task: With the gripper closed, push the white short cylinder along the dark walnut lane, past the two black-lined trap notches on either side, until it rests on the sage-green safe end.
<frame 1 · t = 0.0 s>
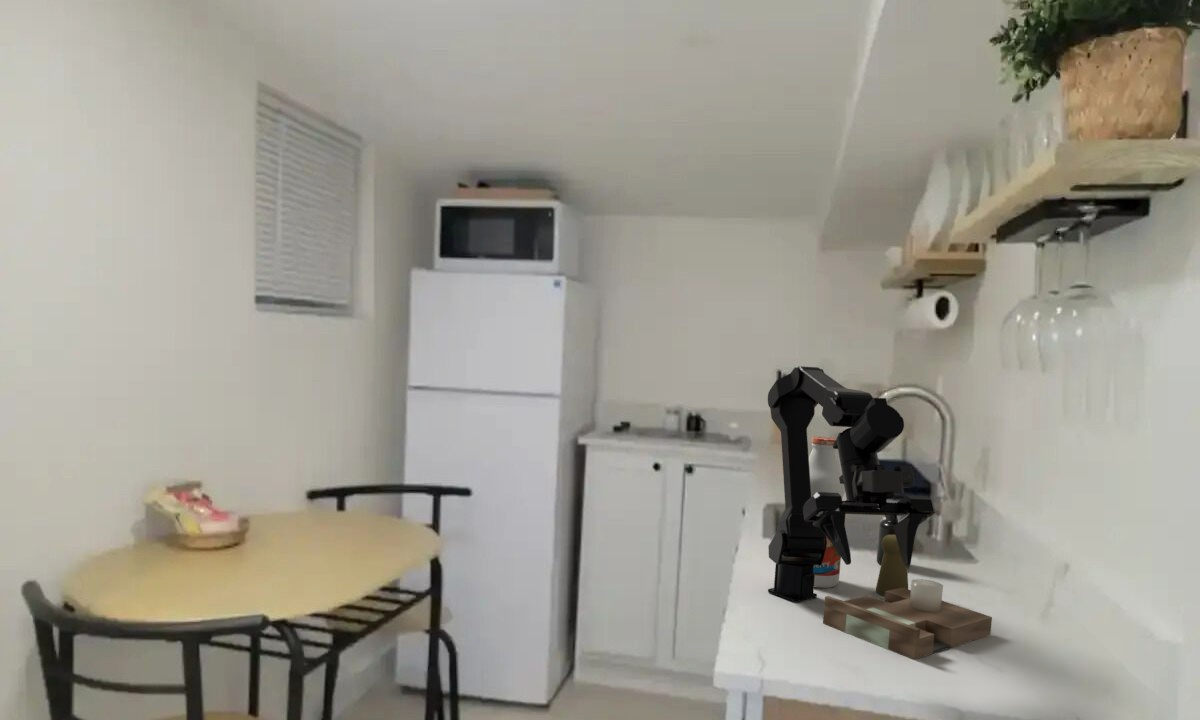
hand: (878, 564, 126), 15 cm above the worktop, tool tilted 35°, fingers open, 9 cm apart
white short cylinder: (925, 606, 146), point 3 cm above the worktop, touching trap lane
cork: (891, 594, 163), on the worktop
fruit juice: (813, 582, 167), on the worktop
supplement bottle: (892, 565, 183), on the worktop
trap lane: (906, 629, 143), on the worktop
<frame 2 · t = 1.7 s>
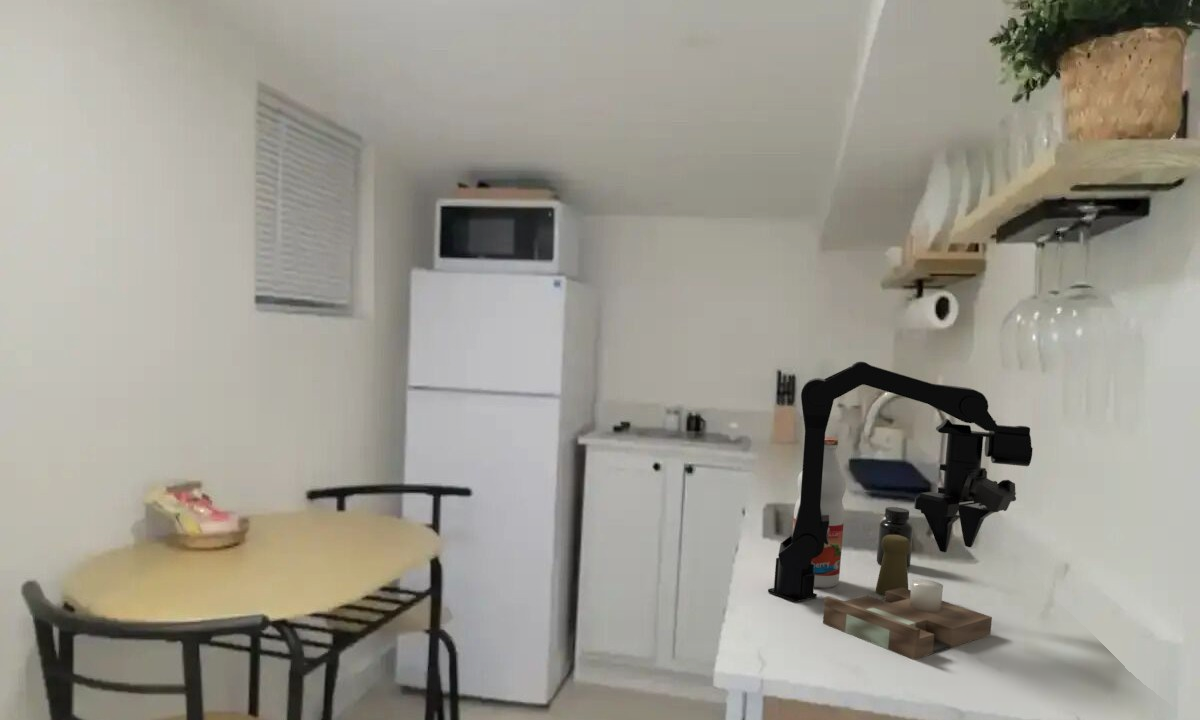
hand: (955, 549, 150), 12 cm above the worktop, tool pointing down, fingers open, 8 cm apart
nothing on the worktop moved.
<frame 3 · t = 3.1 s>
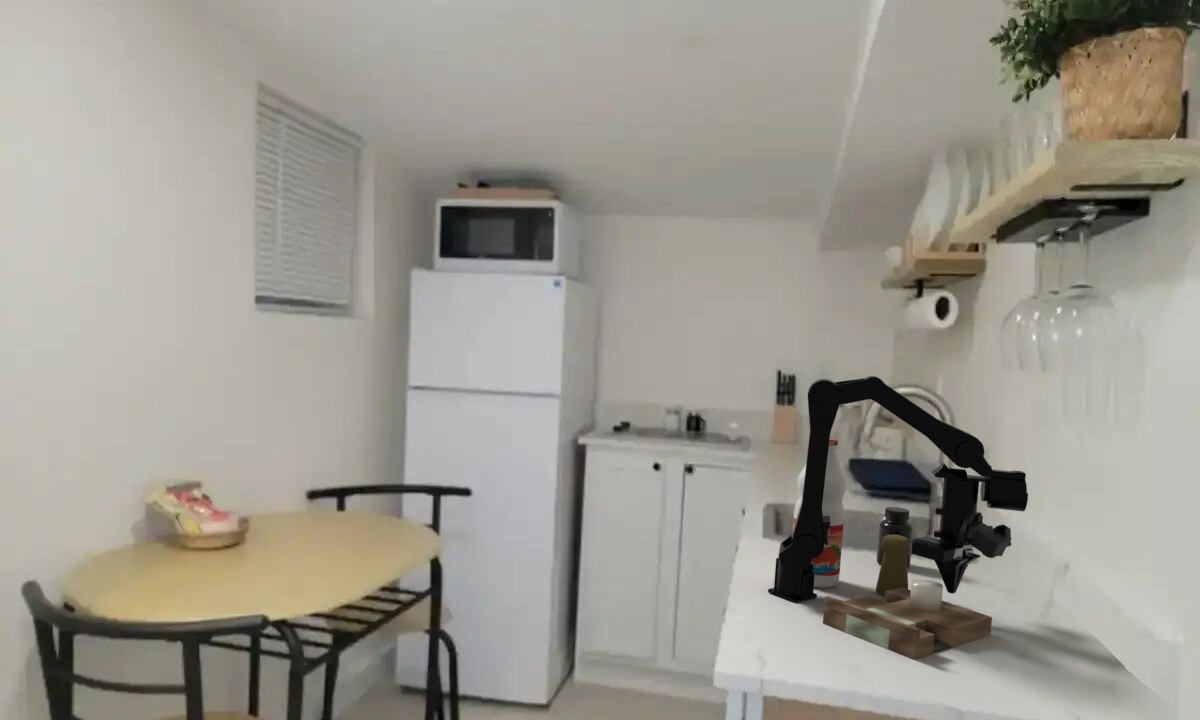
hand: (951, 592, 151), 4 cm above the worktop, tool pointing down, fingers closed
nothing on the worktop moved.
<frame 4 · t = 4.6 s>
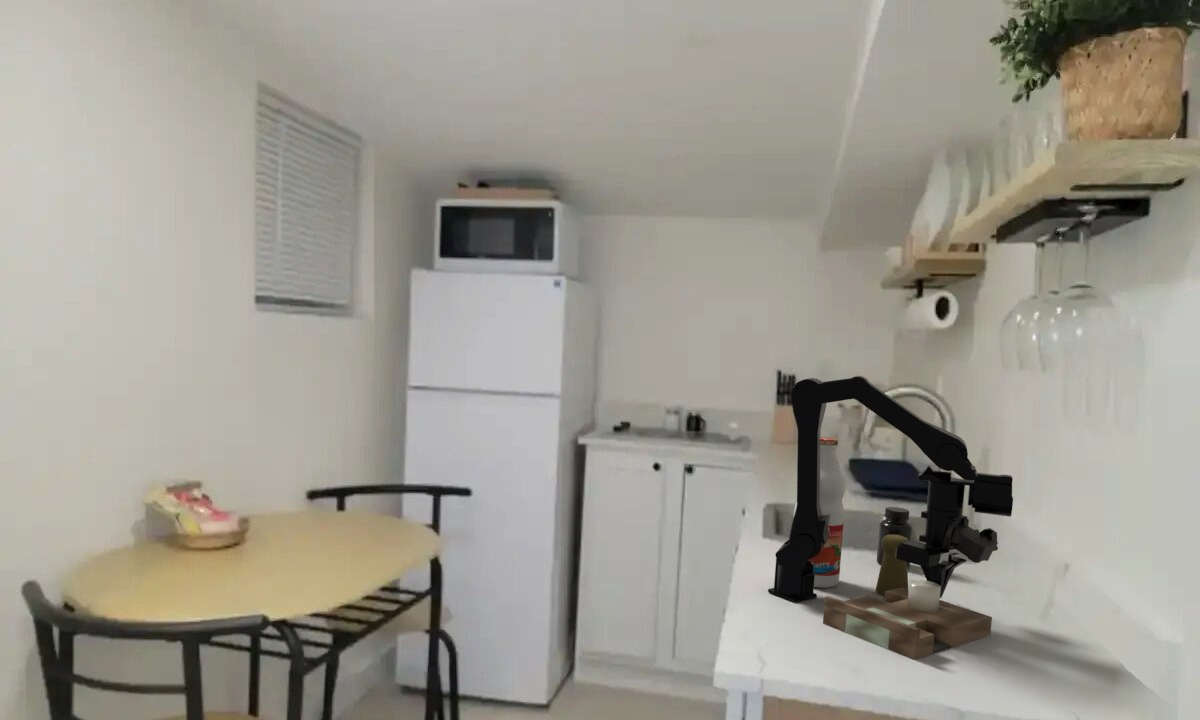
hand: (937, 597, 148), 4 cm above the worktop, tool pointing down, fingers closed
white short cylinder: (922, 607, 145), point 3 cm above the worktop, touching gripper
everything else where it was.
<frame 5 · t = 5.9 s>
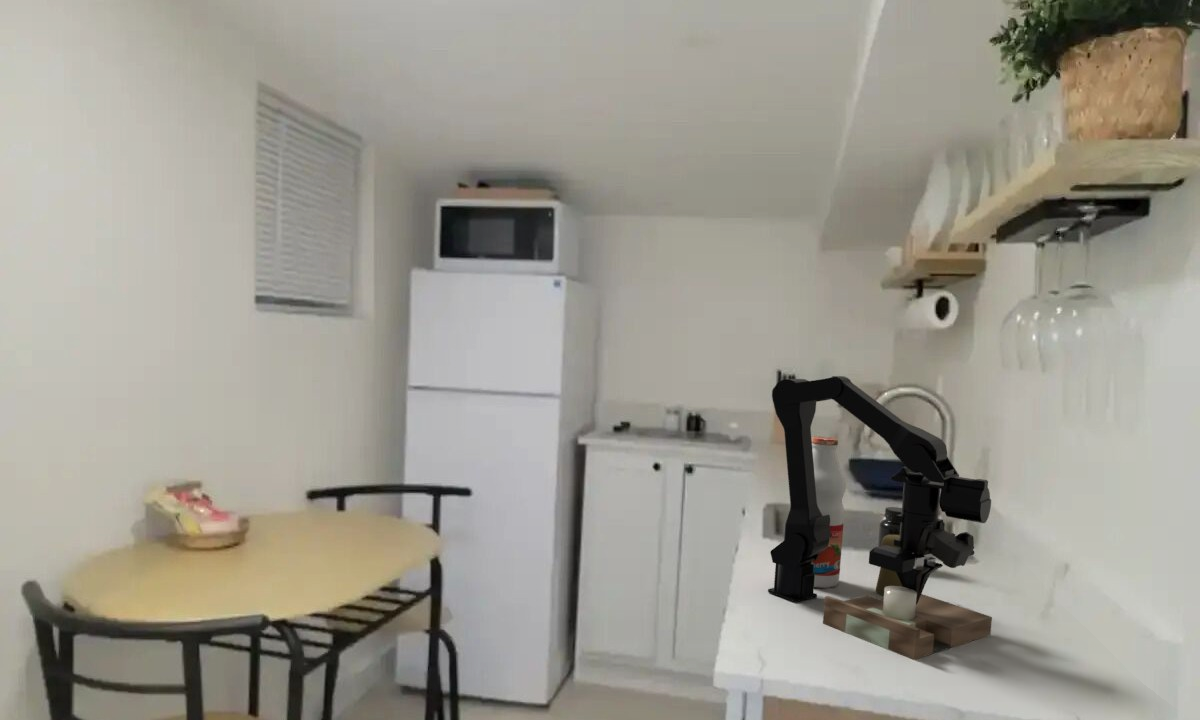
hand: (912, 604, 144), 4 cm above the worktop, tool pointing down, fingers closed
white short cylinder: (898, 614, 141), point 3 cm above the worktop, touching gripper
everything else where it was.
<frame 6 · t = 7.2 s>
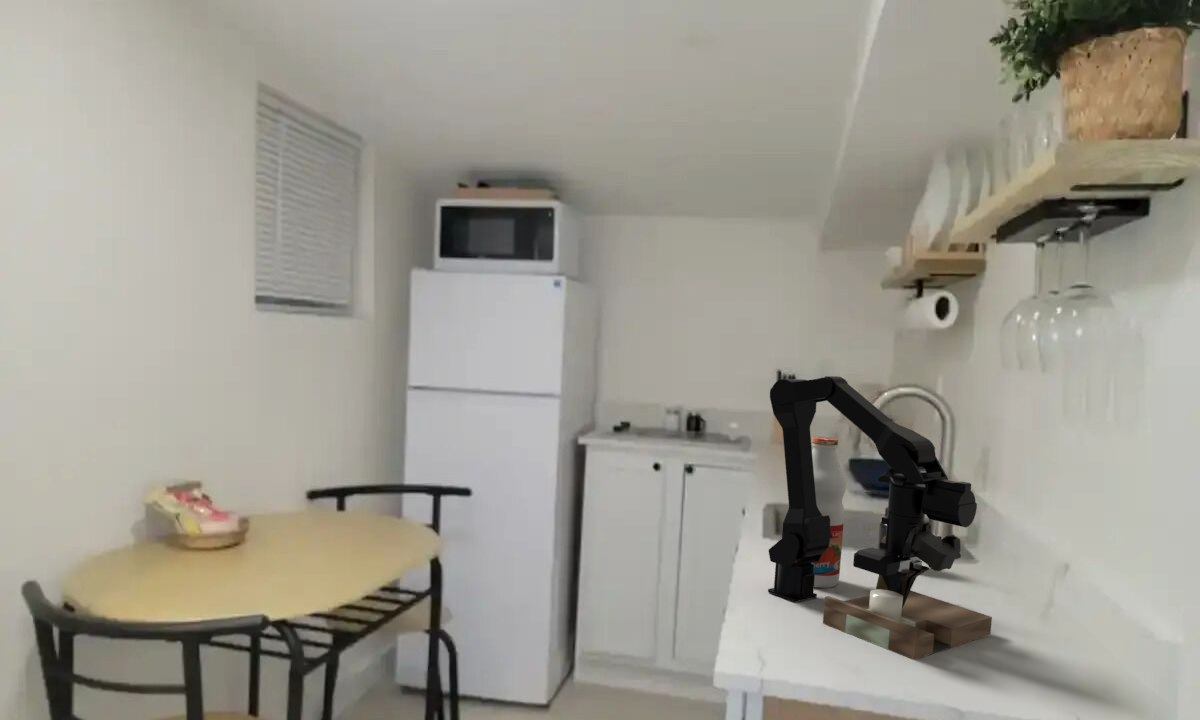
hand: (898, 607, 141), 4 cm above the worktop, tool pointing down, fingers closed
white short cylinder: (884, 618, 138), point 3 cm above the worktop, touching gripper, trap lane
everything else where it was.
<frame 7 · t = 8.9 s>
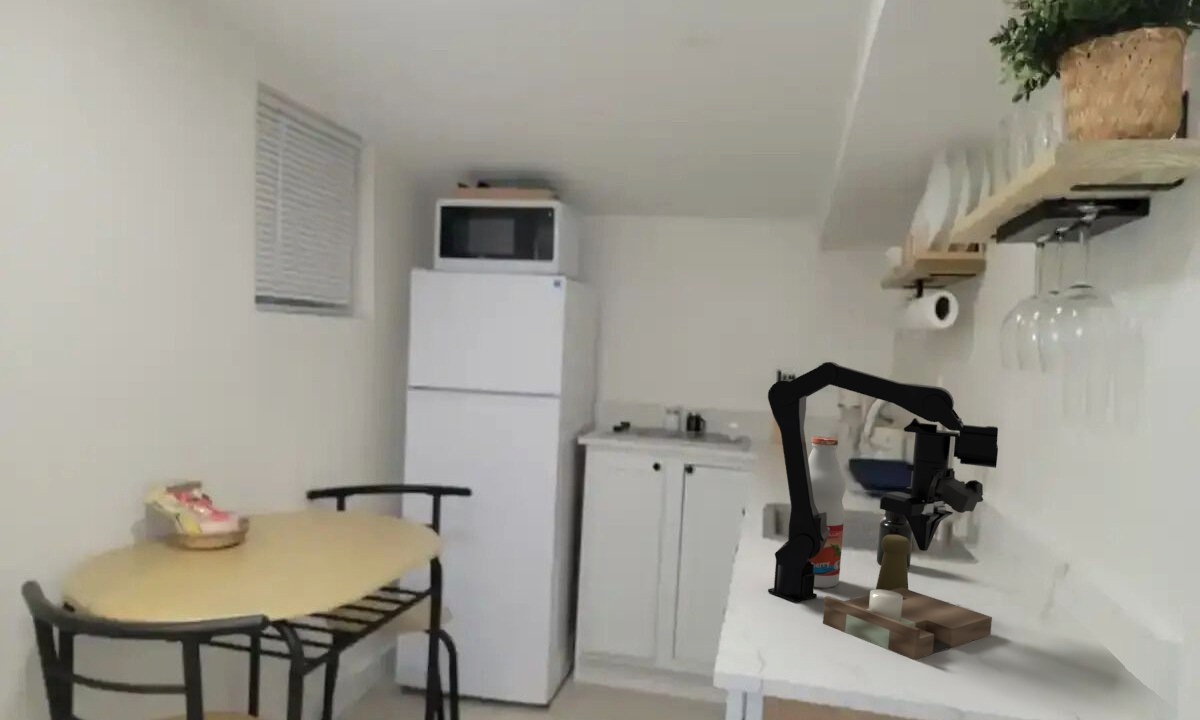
hand: (923, 550, 148), 12 cm above the worktop, tool pointing down, fingers closed
white short cylinder: (884, 618, 138), point 3 cm above the worktop, touching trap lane
everything else where it was.
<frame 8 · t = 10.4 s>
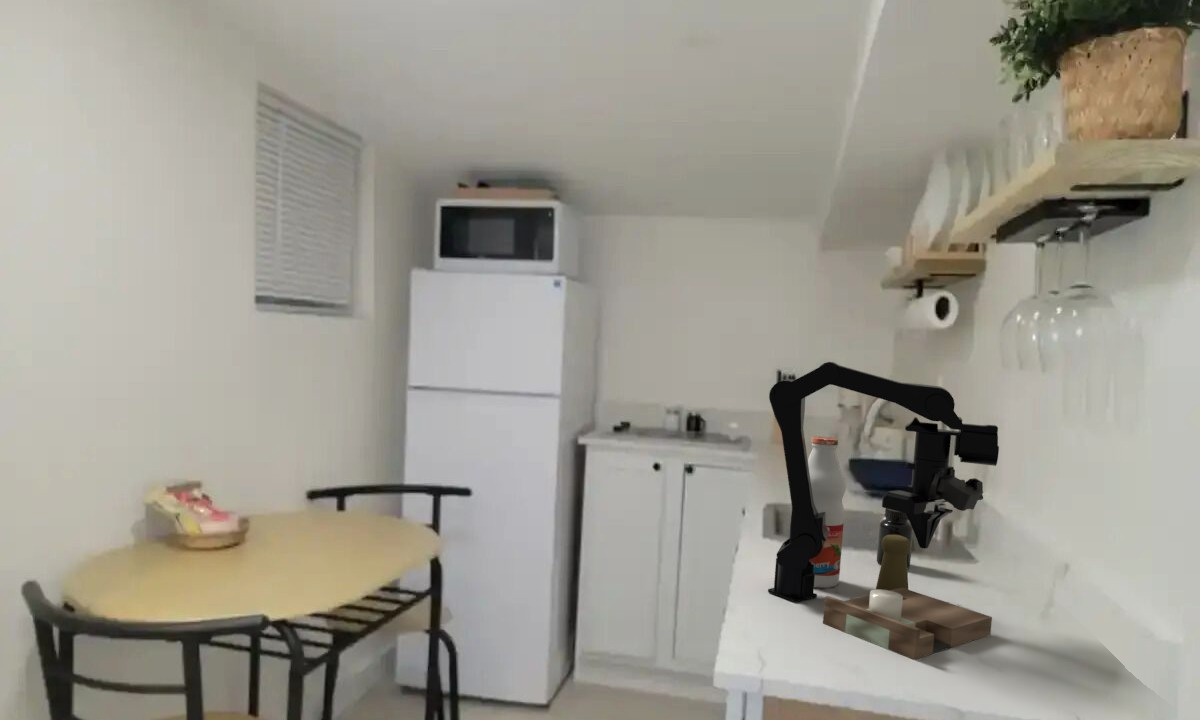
hand: (923, 548, 150), 12 cm above the worktop, tool pointing down, fingers closed
nothing on the worktop moved.
at the end: white short cylinder 0.4 cm from the target spot, point 3.0 cm above the worktop; white short cylinder tilted 0° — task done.
